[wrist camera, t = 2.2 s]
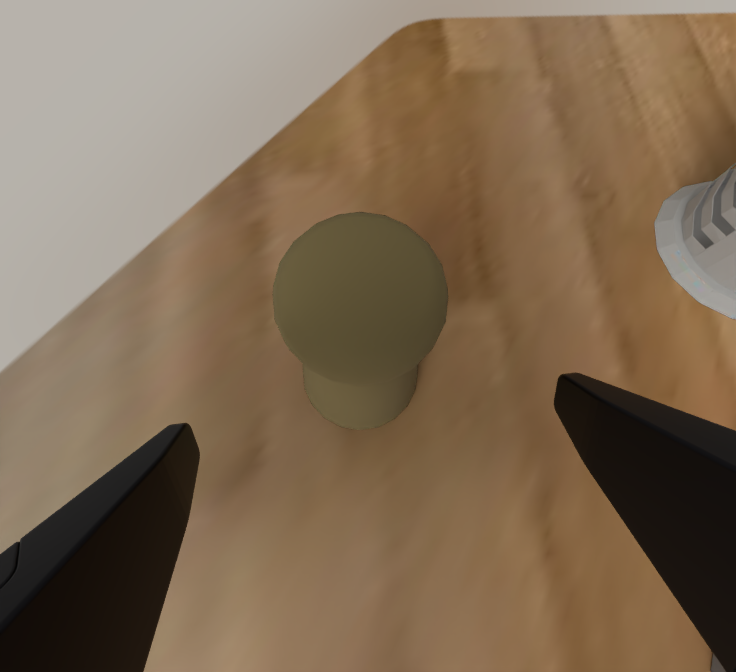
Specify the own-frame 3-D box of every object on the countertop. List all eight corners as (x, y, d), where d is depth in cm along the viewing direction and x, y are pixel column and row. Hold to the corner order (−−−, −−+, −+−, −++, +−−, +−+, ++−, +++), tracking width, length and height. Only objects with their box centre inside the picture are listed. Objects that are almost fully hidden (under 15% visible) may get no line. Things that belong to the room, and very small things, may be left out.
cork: (372, 455, 19) (388, 438, 9) (279, 383, 20) (193, 292, 10) (439, 359, 21) (518, 251, 10) (349, 298, 22) (339, 143, 11)
